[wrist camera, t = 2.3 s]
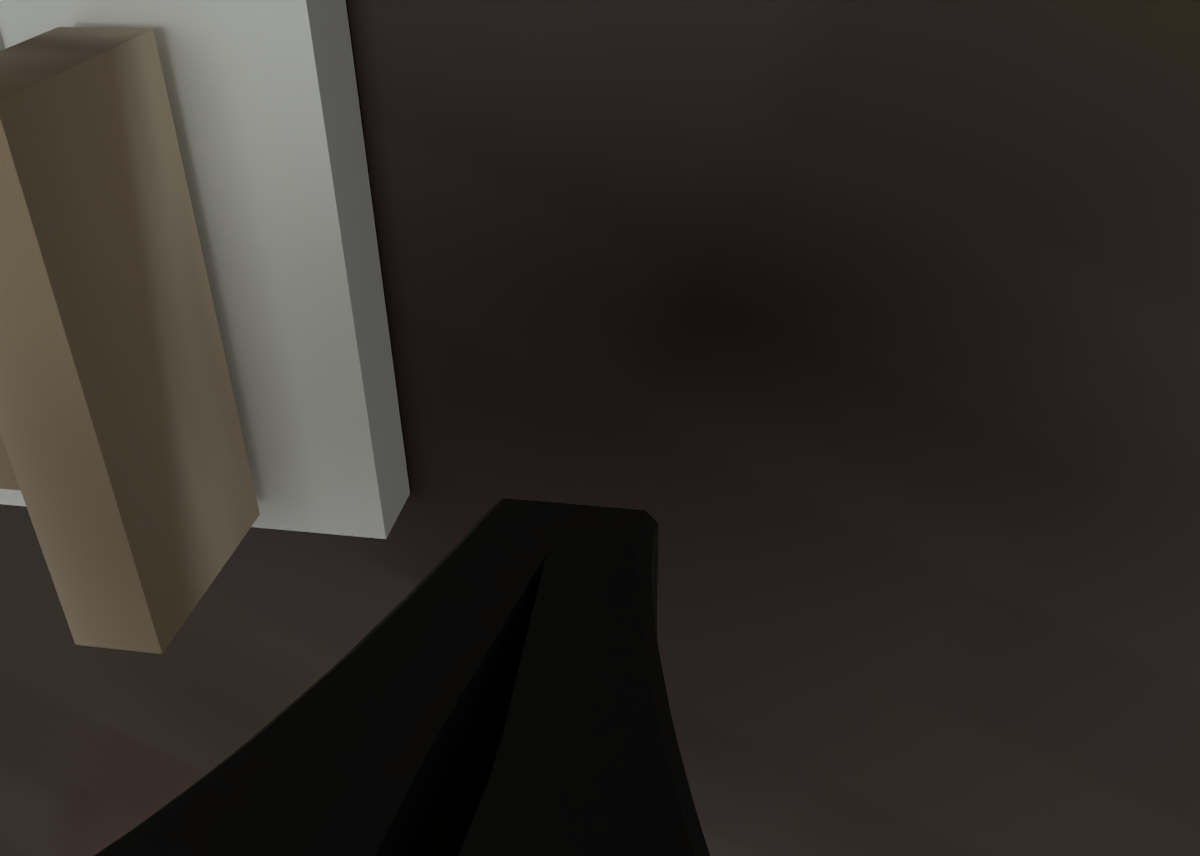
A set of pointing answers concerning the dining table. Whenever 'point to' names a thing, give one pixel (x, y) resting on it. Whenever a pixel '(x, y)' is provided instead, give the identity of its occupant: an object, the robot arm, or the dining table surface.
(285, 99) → the gauge base
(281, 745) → the robot arm
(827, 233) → the dining table surface
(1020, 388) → the dining table surface
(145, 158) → the gauge carriage
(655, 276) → the dining table surface
